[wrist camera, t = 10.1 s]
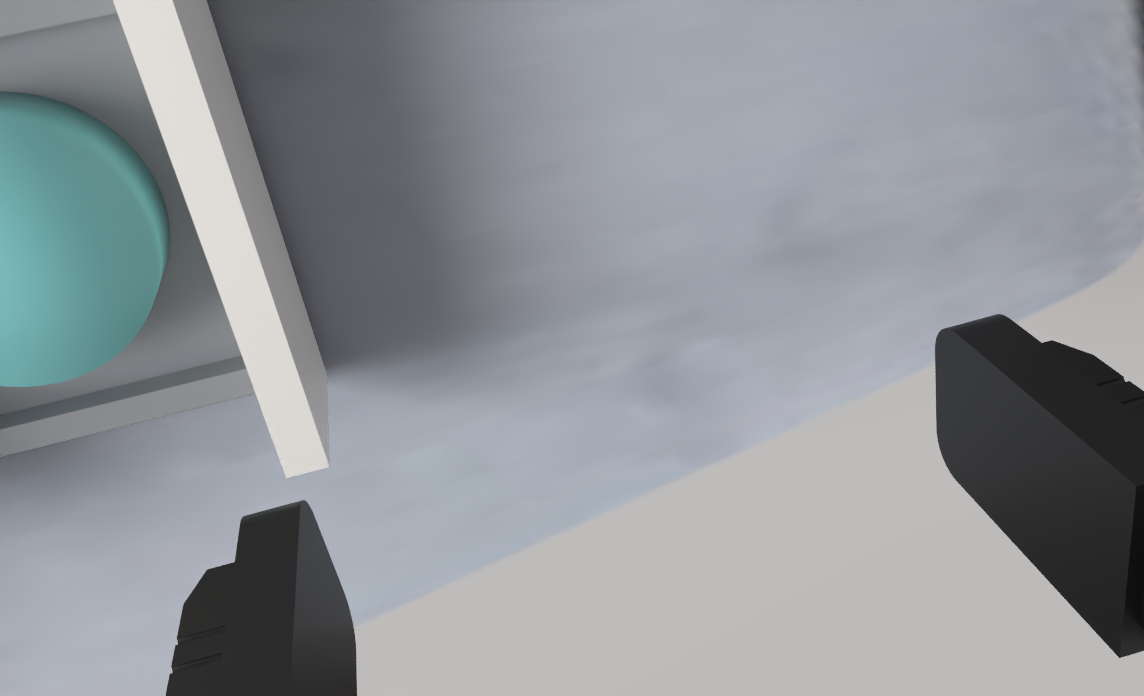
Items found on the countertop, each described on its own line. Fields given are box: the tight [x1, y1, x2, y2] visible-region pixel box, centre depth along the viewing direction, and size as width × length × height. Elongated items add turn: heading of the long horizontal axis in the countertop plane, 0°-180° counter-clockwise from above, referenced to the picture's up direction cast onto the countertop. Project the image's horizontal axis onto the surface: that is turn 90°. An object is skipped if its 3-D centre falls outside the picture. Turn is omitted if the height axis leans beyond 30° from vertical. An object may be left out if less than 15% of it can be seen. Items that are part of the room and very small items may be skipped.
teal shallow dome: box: [0, 92, 170, 387], centre depth 22 cm, size 6×6×2 cm
